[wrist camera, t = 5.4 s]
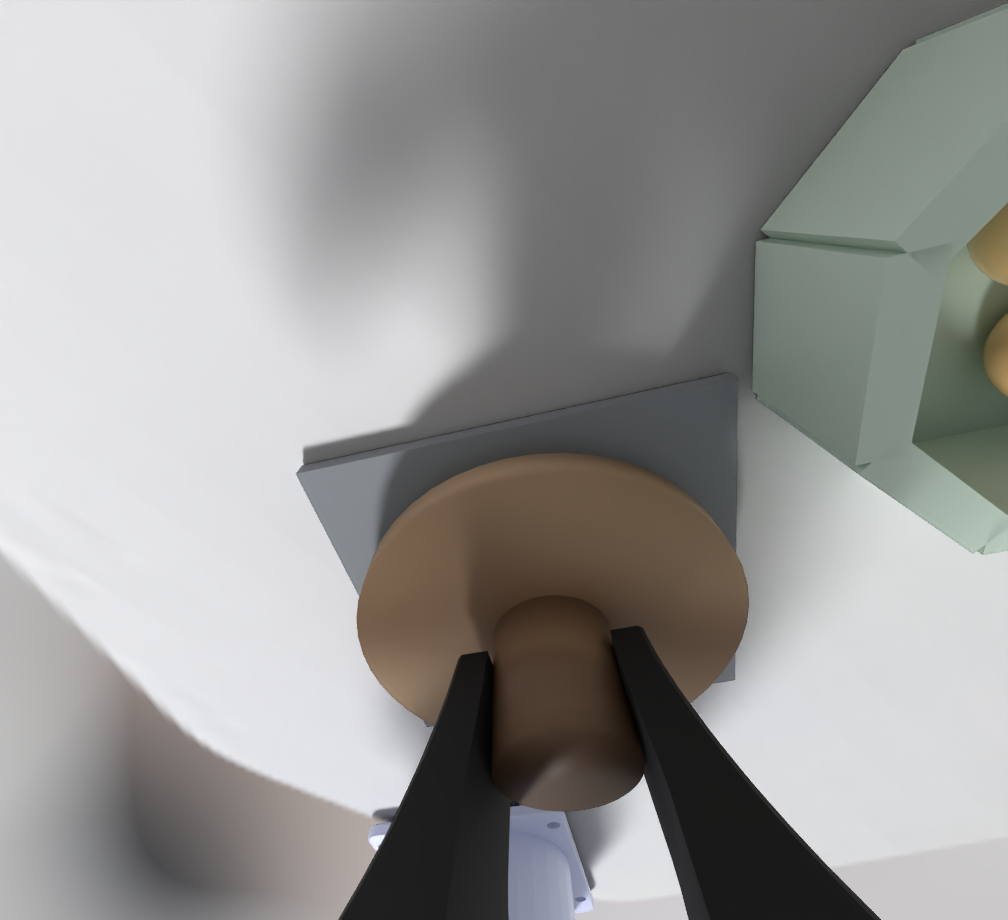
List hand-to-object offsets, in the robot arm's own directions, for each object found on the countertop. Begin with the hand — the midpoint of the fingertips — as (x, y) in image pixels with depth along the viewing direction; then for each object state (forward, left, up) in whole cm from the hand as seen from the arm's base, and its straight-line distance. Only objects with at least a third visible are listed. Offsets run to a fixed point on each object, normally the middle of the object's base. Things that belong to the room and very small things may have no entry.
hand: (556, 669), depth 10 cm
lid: (0, 0, -2) cm, 2 cm away
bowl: (+6, -10, -3) cm, 12 cm away
